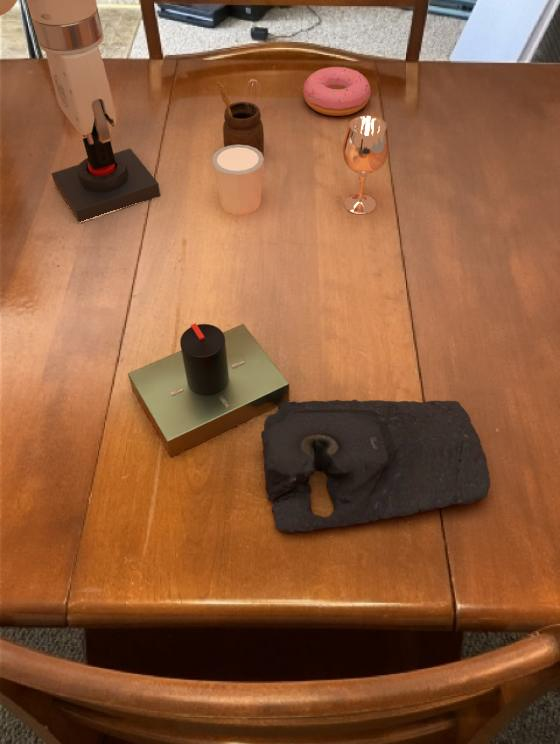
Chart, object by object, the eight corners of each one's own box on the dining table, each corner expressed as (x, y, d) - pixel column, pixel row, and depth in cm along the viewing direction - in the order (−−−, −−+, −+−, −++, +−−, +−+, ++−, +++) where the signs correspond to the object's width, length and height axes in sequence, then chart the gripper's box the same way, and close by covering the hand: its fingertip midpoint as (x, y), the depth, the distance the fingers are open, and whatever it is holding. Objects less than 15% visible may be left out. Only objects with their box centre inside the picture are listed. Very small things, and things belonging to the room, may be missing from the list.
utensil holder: (271, 156, 102) (270, 79, 92) (236, 170, 100) (231, 93, 90) (250, 138, 105) (247, 61, 96) (215, 151, 103) (208, 74, 93)
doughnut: (362, 125, 107) (364, 100, 104) (294, 114, 109) (295, 90, 106) (375, 90, 114) (378, 66, 110) (311, 81, 116) (312, 57, 112)
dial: (236, 384, 71) (232, 344, 66) (197, 401, 69) (190, 361, 65) (217, 356, 73) (212, 315, 68) (180, 371, 72) (172, 331, 67)
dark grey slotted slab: (498, 530, 64) (511, 506, 60) (263, 538, 63) (262, 514, 59) (465, 399, 73) (474, 371, 69) (261, 405, 73) (259, 377, 69)
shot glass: (226, 222, 92) (222, 179, 87) (208, 194, 96) (204, 151, 91) (272, 209, 94) (272, 166, 88) (253, 182, 98) (251, 139, 92)
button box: (79, 224, 92) (72, 200, 89) (55, 186, 97) (47, 162, 94) (160, 196, 96) (156, 172, 93) (132, 161, 101) (128, 136, 98)
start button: (96, 185, 93) (93, 175, 92) (86, 172, 95) (83, 161, 94) (120, 177, 94) (118, 166, 93) (111, 164, 96) (108, 153, 95)
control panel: (171, 457, 69) (166, 440, 66) (132, 390, 74) (127, 372, 72) (289, 400, 73) (289, 382, 71) (244, 341, 79) (243, 322, 76)
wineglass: (374, 189, 96) (384, 111, 87) (385, 214, 93) (396, 136, 84) (335, 193, 96) (340, 115, 87) (344, 219, 92) (350, 140, 83)
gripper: (17, 11, 82) (58, 145, 96) (58, 63, 74) (96, 201, 88) (76, -4, 84) (108, 130, 98) (123, 45, 76) (149, 183, 90)
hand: (102, 163), depth 93 cm, fingers closed
